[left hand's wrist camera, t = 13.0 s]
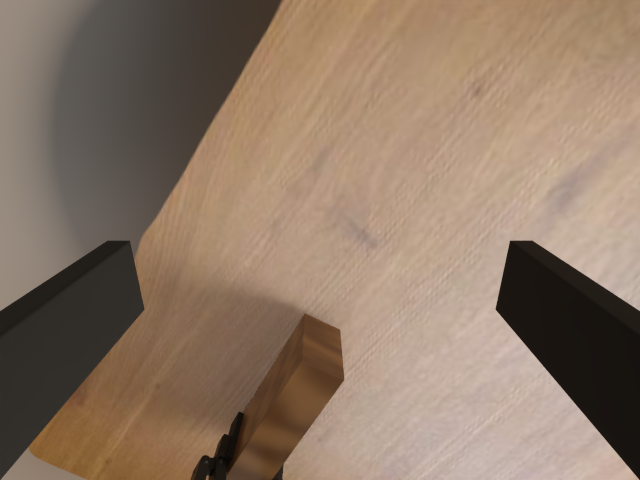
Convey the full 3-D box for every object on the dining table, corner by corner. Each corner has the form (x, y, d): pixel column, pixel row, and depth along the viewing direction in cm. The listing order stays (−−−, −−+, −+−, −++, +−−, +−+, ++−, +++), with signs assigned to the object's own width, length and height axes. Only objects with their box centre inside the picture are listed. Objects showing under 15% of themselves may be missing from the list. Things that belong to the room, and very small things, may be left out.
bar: (304, 313, 44) (301, 361, 36) (340, 329, 44) (344, 379, 36) (229, 434, 51) (212, 496, 43) (261, 446, 52) (250, 509, 44)
